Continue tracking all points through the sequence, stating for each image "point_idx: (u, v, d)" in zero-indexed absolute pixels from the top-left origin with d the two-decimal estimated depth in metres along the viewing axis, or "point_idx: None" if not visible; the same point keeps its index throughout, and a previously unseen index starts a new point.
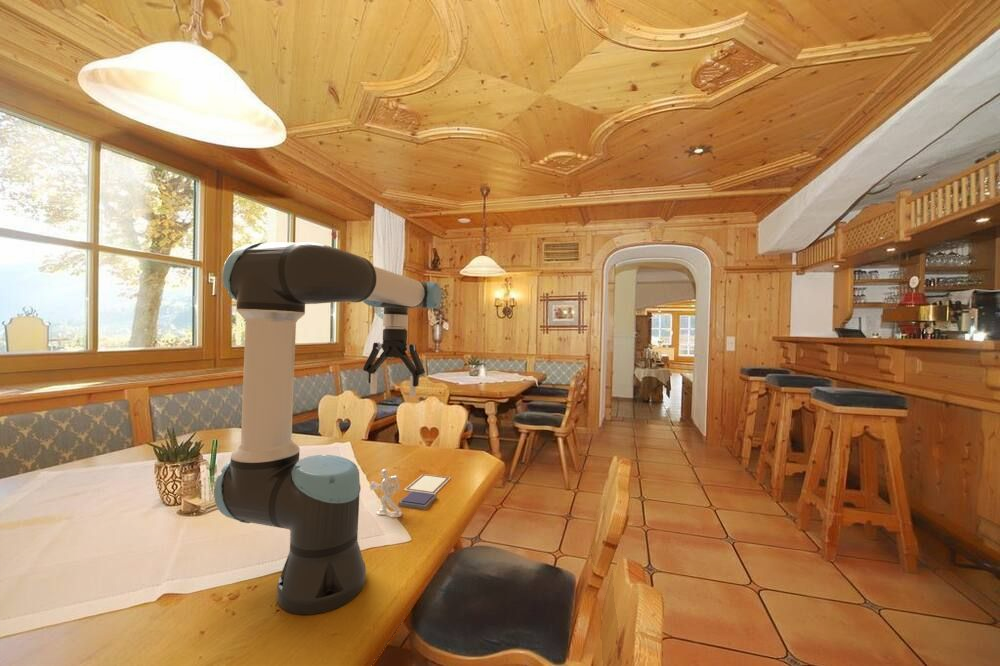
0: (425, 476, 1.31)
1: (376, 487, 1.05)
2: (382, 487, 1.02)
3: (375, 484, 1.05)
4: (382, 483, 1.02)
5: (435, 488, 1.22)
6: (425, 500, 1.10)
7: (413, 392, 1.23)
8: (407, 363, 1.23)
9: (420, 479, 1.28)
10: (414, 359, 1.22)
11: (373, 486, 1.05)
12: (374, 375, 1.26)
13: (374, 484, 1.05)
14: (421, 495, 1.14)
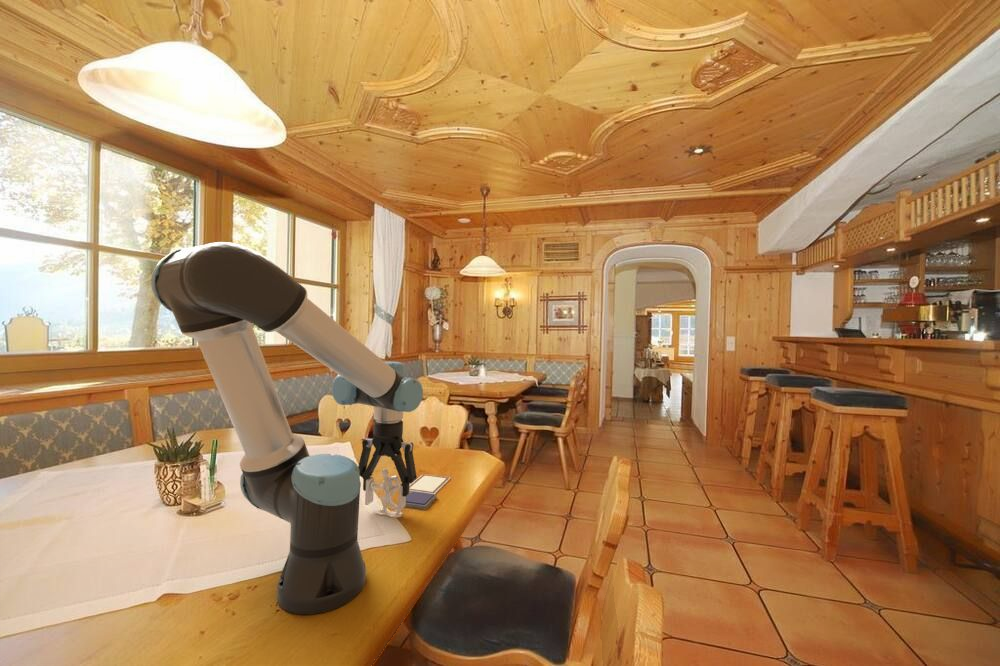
0: (425, 476, 1.31)
1: (376, 487, 1.05)
2: (382, 487, 1.02)
3: (376, 484, 1.05)
4: (382, 483, 1.02)
5: (435, 488, 1.22)
6: (425, 500, 1.10)
7: (402, 503, 1.03)
8: (398, 467, 1.02)
9: (420, 479, 1.28)
10: (407, 463, 1.02)
11: (373, 486, 1.05)
12: (370, 481, 1.05)
13: (375, 484, 1.05)
14: (421, 495, 1.14)
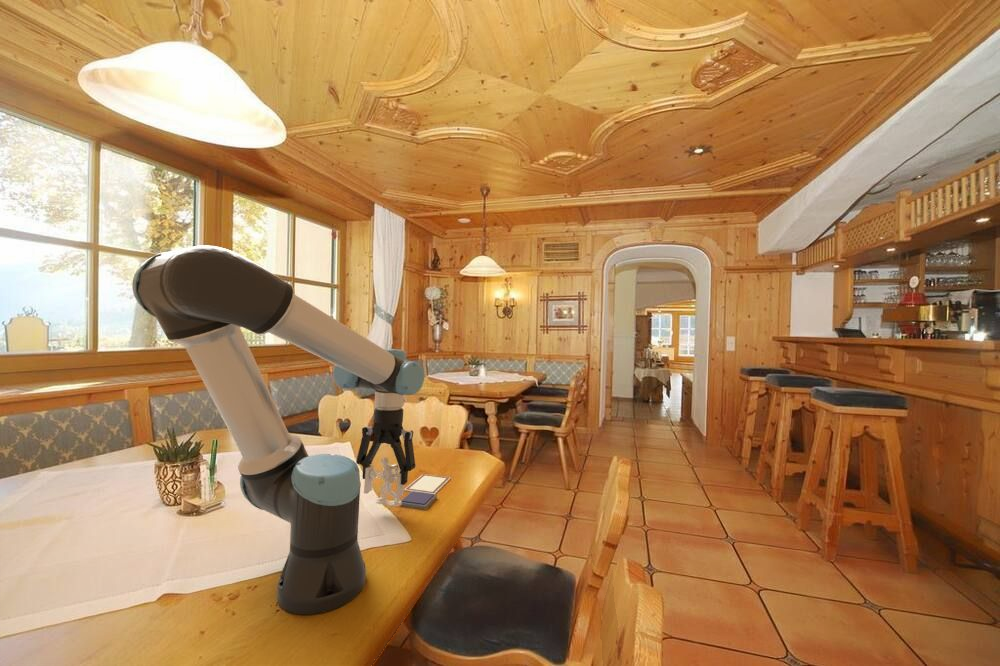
0: (425, 476, 1.31)
1: (376, 476, 1.04)
2: (382, 475, 1.01)
3: (375, 473, 1.04)
4: (383, 471, 1.01)
5: (435, 488, 1.22)
6: (425, 500, 1.10)
7: (401, 491, 1.02)
8: (398, 454, 1.02)
9: (420, 479, 1.28)
10: (407, 451, 1.01)
11: (373, 474, 1.04)
12: (369, 469, 1.04)
13: (374, 472, 1.04)
14: (421, 495, 1.14)
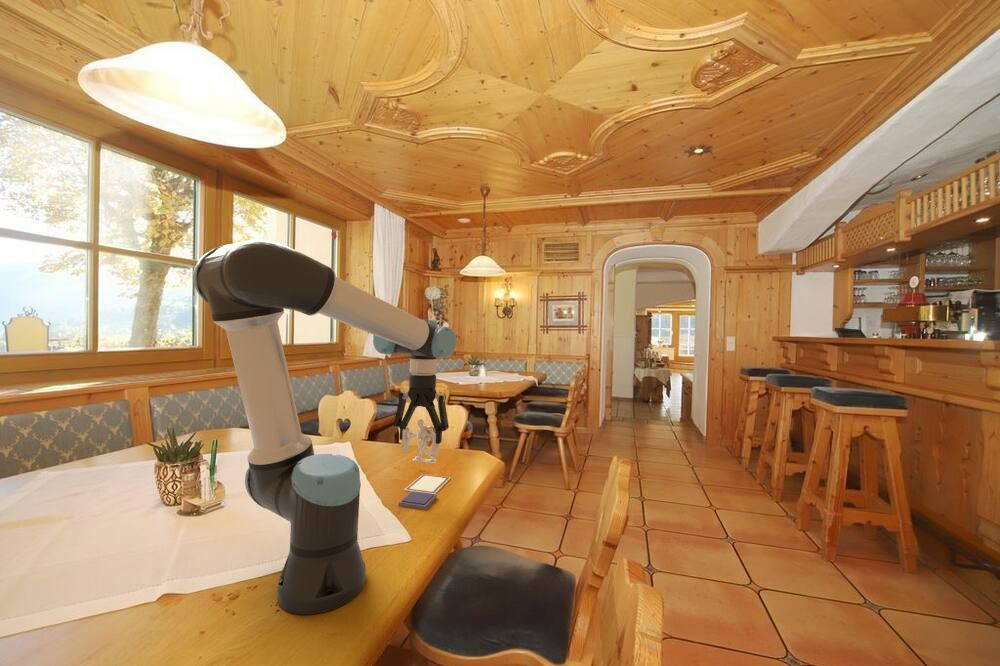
0: (425, 476, 1.31)
1: (412, 436, 1.13)
2: (419, 435, 1.10)
3: (411, 433, 1.13)
4: (419, 431, 1.10)
5: (435, 488, 1.22)
6: (425, 500, 1.10)
7: (436, 450, 1.11)
8: (432, 416, 1.10)
9: (420, 479, 1.28)
10: (441, 413, 1.10)
11: (409, 435, 1.13)
12: (406, 431, 1.13)
13: (410, 433, 1.13)
14: (421, 495, 1.14)
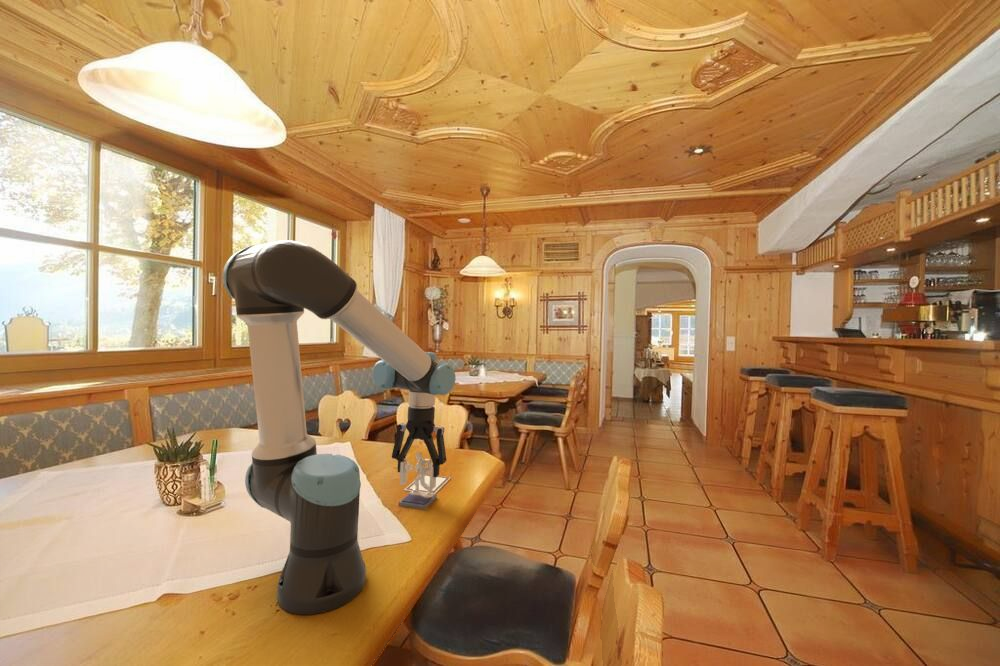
0: (425, 476, 1.31)
1: (410, 469, 1.13)
2: (417, 469, 1.10)
3: (409, 466, 1.13)
4: (417, 465, 1.10)
5: (435, 488, 1.22)
6: (425, 500, 1.10)
7: (433, 483, 1.11)
8: (430, 449, 1.10)
9: None
10: (439, 446, 1.10)
11: (407, 468, 1.12)
12: (404, 463, 1.13)
13: (408, 466, 1.13)
14: None
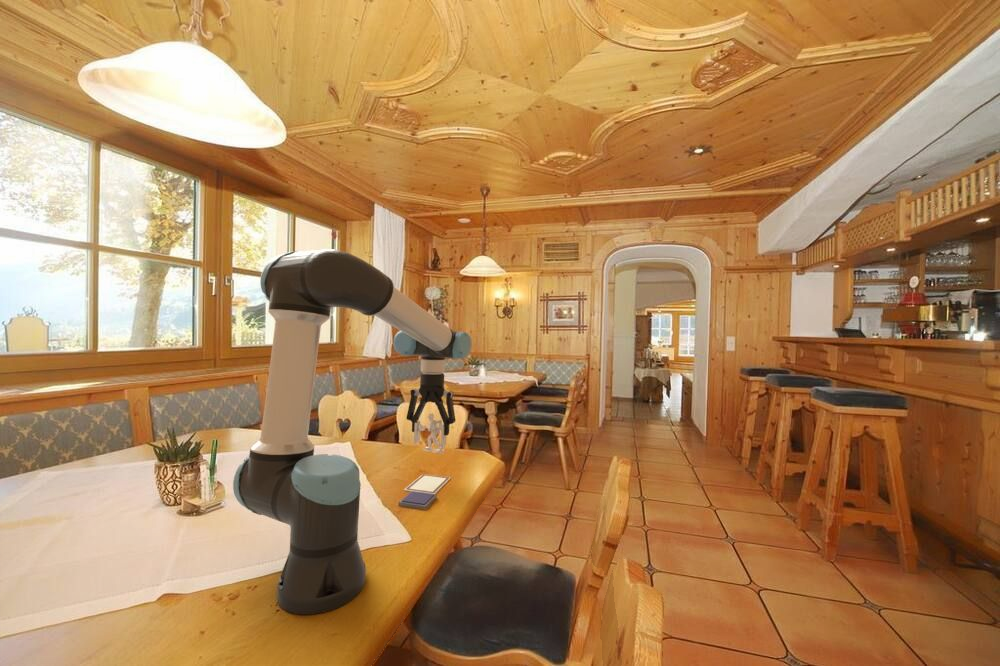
0: (425, 476, 1.31)
1: (423, 428, 1.26)
2: (429, 428, 1.23)
3: (422, 426, 1.26)
4: (429, 424, 1.23)
5: (435, 488, 1.22)
6: (425, 500, 1.10)
7: (444, 441, 1.24)
8: (441, 411, 1.24)
9: (420, 479, 1.28)
10: (449, 407, 1.23)
11: (421, 427, 1.26)
12: (417, 424, 1.26)
13: (421, 426, 1.26)
14: (421, 495, 1.14)
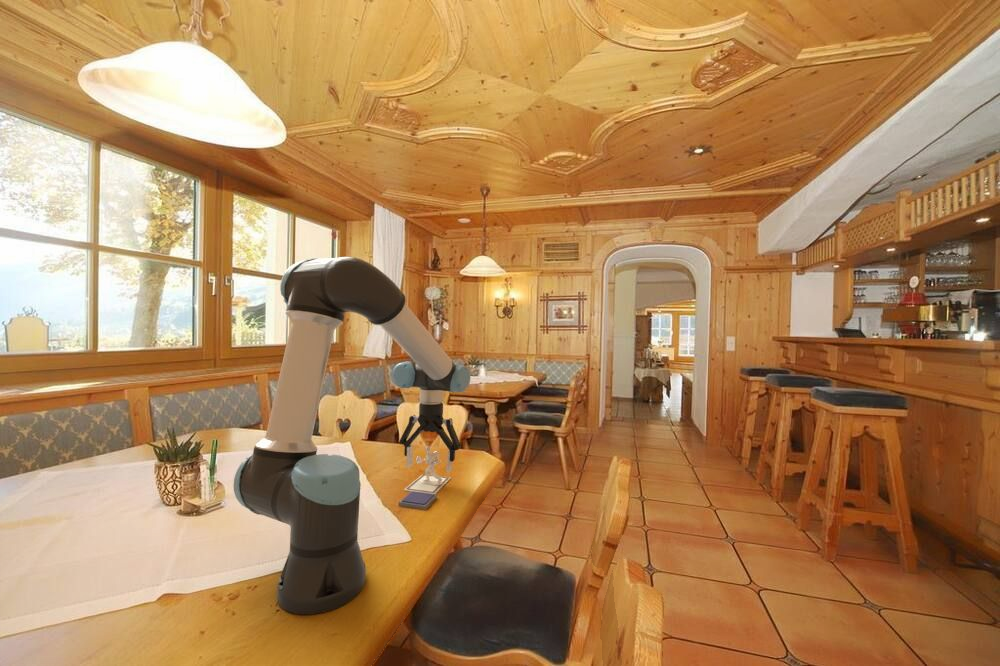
0: (425, 476, 1.31)
1: (420, 461, 1.26)
2: (427, 460, 1.23)
3: (419, 458, 1.26)
4: (426, 457, 1.23)
5: (435, 488, 1.22)
6: (425, 500, 1.10)
7: (450, 467, 1.24)
8: (444, 438, 1.23)
9: (420, 479, 1.28)
10: (451, 434, 1.23)
11: (418, 460, 1.26)
12: (410, 448, 1.27)
13: (419, 458, 1.26)
14: (421, 495, 1.14)
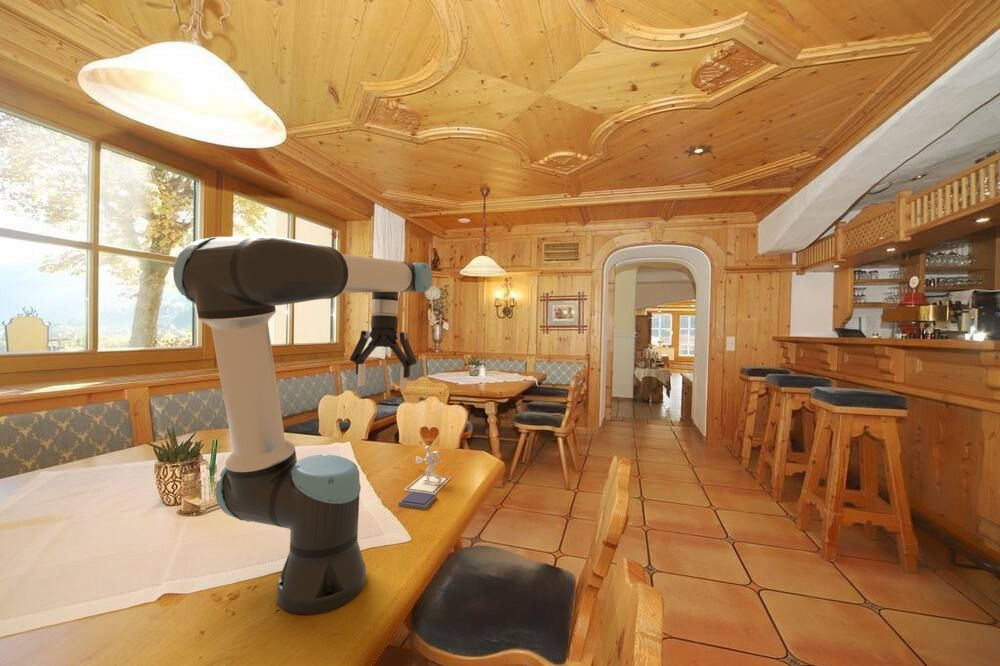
0: (425, 476, 1.31)
1: (420, 461, 1.26)
2: (427, 460, 1.23)
3: (420, 458, 1.26)
4: (426, 457, 1.23)
5: (435, 488, 1.22)
6: (425, 500, 1.10)
7: (404, 384, 1.14)
8: (397, 352, 1.13)
9: (420, 479, 1.28)
10: (405, 348, 1.13)
11: (418, 460, 1.26)
12: (362, 366, 1.17)
13: (419, 458, 1.26)
14: (421, 495, 1.14)
